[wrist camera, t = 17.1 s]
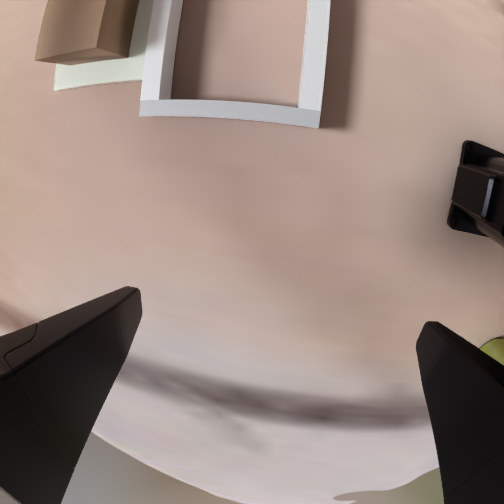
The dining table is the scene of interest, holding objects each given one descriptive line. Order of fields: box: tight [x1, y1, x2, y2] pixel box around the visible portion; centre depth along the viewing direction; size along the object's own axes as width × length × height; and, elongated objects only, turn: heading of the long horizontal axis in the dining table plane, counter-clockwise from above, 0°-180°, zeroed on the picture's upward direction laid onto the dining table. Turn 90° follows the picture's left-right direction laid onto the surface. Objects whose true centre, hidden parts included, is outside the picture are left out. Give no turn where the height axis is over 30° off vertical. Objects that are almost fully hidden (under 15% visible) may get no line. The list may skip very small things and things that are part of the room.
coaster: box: [53, 0, 154, 91], centre depth 15 cm, size 8×8×1 cm
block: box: [35, 0, 140, 66], centre depth 13 cm, size 5×6×4 cm
